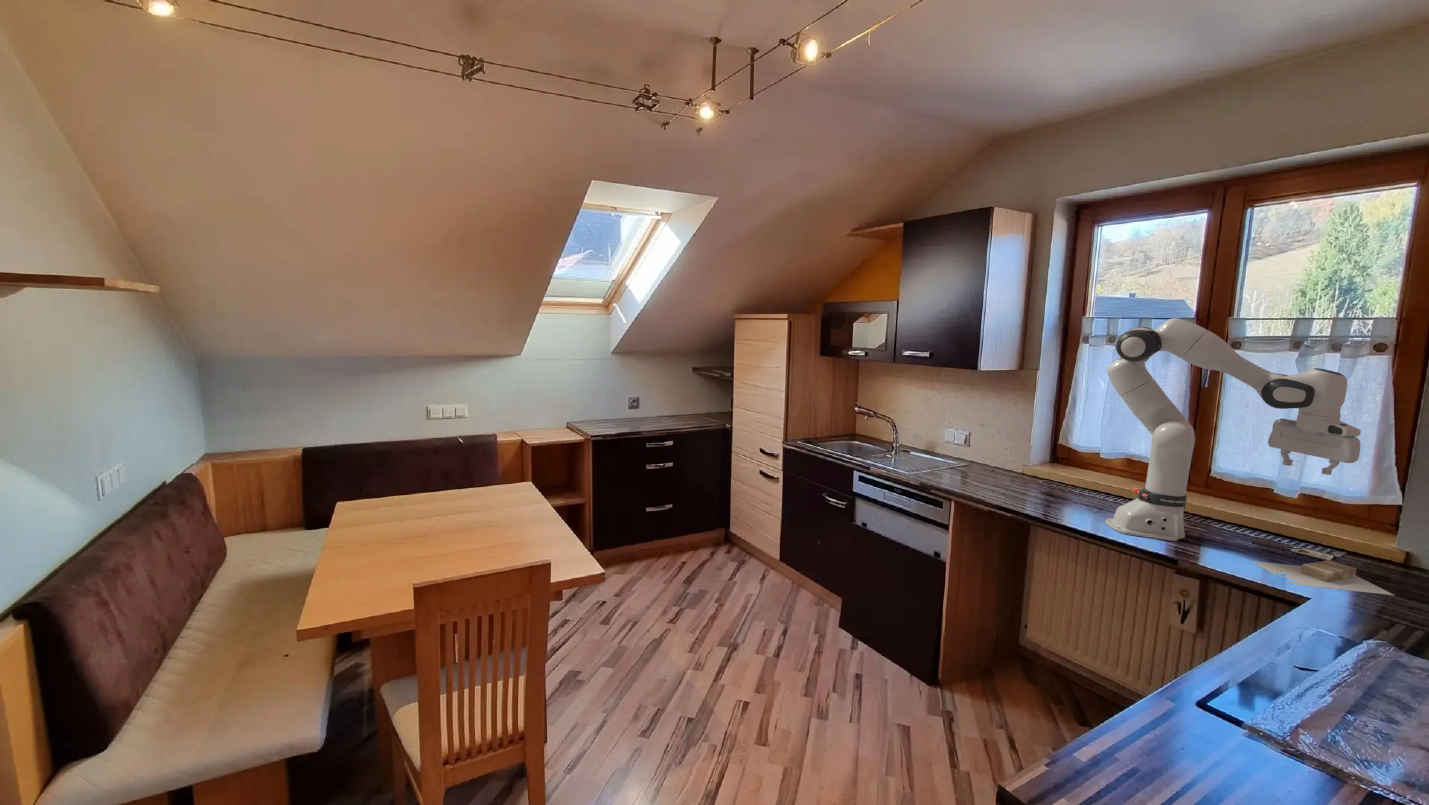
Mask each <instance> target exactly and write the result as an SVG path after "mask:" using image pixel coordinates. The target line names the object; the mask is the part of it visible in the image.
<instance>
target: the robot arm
mask: <svg viewBox="0 0 1429 805" xmlns="http://www.w3.org/2000/svg"><path fill="white" fill-rule="evenodd" d="M1115 344H1116V345H1115V350H1116V353H1117V354H1118V356H1119V357H1118V359H1116V360H1114V361H1113V362H1112V363H1110V365H1109V366H1108V367H1107V370H1106V373H1107V376H1108V378H1109V380H1110V382H1111V384H1112V386H1113V388H1114V389H1115V390H1116V392H1117V394H1118V395H1119V396H1120V398H1121V399H1122V400H1123V402H1124V403H1125V404H1126V406H1127V407H1128V409H1129V410H1130V411H1131V413H1132V414H1133V415H1134V416H1135V417H1136V418H1137V419H1138V420H1139V421H1140V424H1142V425H1143V426H1144V427H1145V428H1146V430H1147V431H1148V432H1149V434H1151V435H1152V436H1151V445H1150V452H1149V460H1148V468H1147V474H1146V479H1145V487H1144V488H1142V489H1139V488H1138V487H1134V488H1132V490H1131V492H1132V493H1133V494H1135V495H1138V496H1137V498H1135V499H1133V500H1131V501H1129V502H1126V503H1124V504H1122V505H1119V506H1118V507H1117V509H1116V510H1115V512H1114V514H1113V518H1112V517H1111V518H1109V517H1107V518H1106V519H1105V524H1106V525H1107V526H1108V527H1110V528H1111V529H1113V530H1115V531H1116V532H1119V533H1121V534H1125V535H1130V536H1131V535H1132V536H1137V537H1144V538H1150V539H1157V540H1163V541H1170V542H1171V541H1172V542H1177V541H1178V540H1180V539H1184V538H1186V533H1185V529H1184V511H1185V509H1186V505H1187V498H1188V496H1187V486H1188V482H1189V477H1190V476H1189V474H1190V470H1191V464H1192V458H1193V453H1194V448H1195V441H1196V437H1195V435H1196V434H1195V430H1194V428H1193V426H1192V424H1190V423H1191V422H1189V420H1188V419H1187V418H1186V417H1185V415H1183V414H1182V412H1181V411H1180V410H1179V408H1178V407H1177V406H1176V405H1175V404H1174V403H1173V401H1172V400H1171V399H1170V398H1169V397H1168V395H1167V394H1166V392H1165V391H1164V390H1163V389H1162V388H1161V386H1160V385H1159V384H1158V382H1157V381H1156V380H1155V378H1154V377H1153V376H1152V375H1151V373H1150V372H1149V370H1148V369H1147V367H1146V362H1147V361H1148V360H1149V359H1150V358H1151V357H1153V356H1154V354H1156V353H1158V352H1161V351H1165V352H1168V353H1171V354H1172V355H1173V356H1176V357H1178V358H1180V359H1181V360H1183V361H1185V362H1187V363H1188V364H1191V365H1193V366H1196V367H1199V368H1202V369H1205V370H1210V371H1218V372H1220V373H1224V374H1227V375H1229V376H1231V377H1232V378H1234V379H1236V380H1238V381H1241V383H1244V384H1246V385H1248V386H1249V387H1250V388H1252V389H1254V390H1255V391H1256V392H1257V393H1258V395H1259V396H1260V398H1261V399H1262V401H1263V402H1264V403H1265V405H1268V406H1269V407H1271V408H1274V409H1277V410H1278V409H1280V410H1286V409H1287V410H1289V409H1298V412H1297V417H1296V420H1294V419H1287V418H1279V419H1276V420H1274V421H1273V423H1272V426H1271V428H1272V430H1271V431H1270V434H1269V436H1268V441H1267V445H1268V446H1269V447H1270V448H1274V449H1279V450H1280V452H1279V453H1280V456H1281V457H1282V465H1284V466H1287V467H1291V466H1292V465H1293V462H1294V460H1293V459H1290V456H1289V454H1291V452H1293V453H1298V454H1302V455H1307V456H1312V457H1317V458H1321V459H1326V460H1328V464H1329V465H1328V466H1327V467H1322V468H1321V474H1322V475H1327V476H1330V475H1332V472H1333V469H1335V468H1336V467H1338V465H1340V463H1344V464H1353V463H1354V464H1355V463H1356V462H1358V460H1359V458H1360V454H1361V453H1360V452H1361V445H1362V444H1361V440H1360V439H1359V438H1358V437H1359V436H1360V435H1361V429H1360V428H1357V427H1356V426H1353V425H1350V424H1348V423H1346V422H1344V421H1342V420H1341V418H1342V417H1341V416H1342V415H1341V409H1342V407H1343V405H1344V404H1345V400H1346V396H1347V391H1348V379H1347V377H1346V376H1345V375H1344V374H1342V373H1341V372H1338V371H1334V370H1329V369H1325V368H1319V367H1317V368H1316V367H1314V368H1312V369H1309V370H1306V371H1304V372H1300V373H1295V374H1290V375H1289V374H1281V373H1275V372H1271V371H1270V370H1269V371H1268V370H1267V369H1265V368H1262V367H1261V366H1259V365H1257V364H1256V363H1253V362H1251V361H1249V360H1248V359H1246V358H1245V357H1242V356H1241V355H1240V354H1239V353H1237V351H1235V350H1234V348H1232V345H1231V346H1230V344H1229V343H1227V342H1226V341H1225V340H1224V339H1222V338H1221V337H1220V336H1219V335H1217V334H1215V333H1214V332H1212V331H1211V330H1208V329H1206V328H1204V327H1202V326H1201V325H1198V324H1195V323H1194V322H1190V321H1188V320H1184V319H1182V318H1178V317H1173V318H1169V319H1167V320H1165V321H1164V322H1162V324H1161V325H1159V326H1158V327H1157V328H1155V329H1153V328H1151V327H1148V326H1140V327H1139V326H1138V327H1133V328H1130V329H1128V330H1126V331H1125V332H1124V333H1122V334H1121V335H1120V336H1119V337H1118V339H1117V340H1116V343H1115Z"/></svg>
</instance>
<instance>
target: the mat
mask: <svg viewBox="0 0 1429 805" xmlns="http://www.w3.org/2000/svg"><path fill="white" fill-rule="evenodd" d="M1252 562H1253V563H1254V564H1256V565H1257V566H1260V567H1261V568H1263V569H1264V570H1266V571H1268V572H1270V573H1271V574H1274V575H1275V574H1287V576H1286V575H1285V576H1284V577H1291V578H1290V579H1289V580H1293V582H1291V583H1299V584H1296V586H1303V585H1304V586H1305V587H1312V588H1313V587H1315V588H1323V589H1333V590H1341V591H1342V590H1343V591H1351V592H1358V593H1359V592H1360V593H1361V592H1363V593H1370V594H1378V595H1387V596H1388V595H1389V596H1394V594H1393V593H1392V592H1389V591H1387V590H1386V589H1383V588H1381V587H1380V586H1377V585H1376V584H1373V583H1371V582H1369V581H1368V580H1366V579H1363V578H1362V577H1359V576H1358V575H1356V574H1355V577H1351V578H1345V579H1339V580H1333V581H1324V580H1321V579H1318V578H1315V577H1312V576H1309V575H1306V574H1303V573H1300V572H1301V567H1302V565H1295V564H1293V565H1292V564H1286V563H1285V564H1284V563H1275V562H1267V561H1266V562H1264V561H1255V560H1252ZM1277 571H1278V572H1277ZM1280 571H1281V572H1280ZM1288 574H1290V575H1288ZM1282 577H1283V576H1282ZM1292 577H1293V578H1292ZM1287 580H1288V579H1287ZM1294 580H1296V581H1294Z"/></svg>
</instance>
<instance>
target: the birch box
mask: <svg viewBox="0 0 1429 805" xmlns="http://www.w3.org/2000/svg"><path fill="white" fill-rule="evenodd" d="M1301 566H1302V567H1301V572H1300V573H1303V574H1306V575H1309V576H1312V577H1315V578H1318V579H1321V580H1324V581H1333V580H1339V579H1345V578H1351V577H1355V575H1356V574H1357V567H1354V566H1353V567H1352V566H1350V565H1346V564H1344V563H1341V562H1340V563H1339V562H1337V561H1334V560H1328V561H1316V562H1310V563H1303V564H1301Z"/></svg>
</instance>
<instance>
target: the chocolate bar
mask: <svg viewBox="0 0 1429 805" xmlns="http://www.w3.org/2000/svg"><path fill="white" fill-rule="evenodd" d="M1280 542H1281V543H1280ZM1285 543H1286V542H1283V543H1282V541H1277V540H1274V539H1270V538H1266V537H1261V536H1258V537H1257V538H1256V539H1255V540H1253V541H1252V542H1251V544H1252V545H1256V546H1259V545H1261V546H1260V547H1263V546H1264V548H1268V549H1271V548H1275V549H1279V550H1282V551H1281V552H1283V551H1289V552H1292V553H1296V554H1299V555H1302V556H1301V557H1303V556H1307V557H1310V558H1309V559H1311V558H1312V559H1311V560H1315V559H1317V560H1316V561H1319V560H1320V561H1319V562H1321V561H1328V560H1331V559H1332V560H1333V559H1334V558H1335V554H1332V553H1328V552H1323V551H1319V550H1314V549H1313V548H1312V549H1311V548H1307V547H1304V546H1303V547H1302V546H1299V545H1295V546H1292V547H1289V546H1283V545H1292V544H1290V543H1286V544H1285ZM1285 548H1301V549H1285ZM1302 548H1304V549H1302ZM1305 548H1306V549H1305ZM1275 549H1274V550H1275ZM1279 550H1278V551H1279ZM1299 555H1298V556H1299ZM1307 557H1306V558H1307ZM1333 557H1334V558H1333ZM1332 560H1331V561H1332Z"/></svg>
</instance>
